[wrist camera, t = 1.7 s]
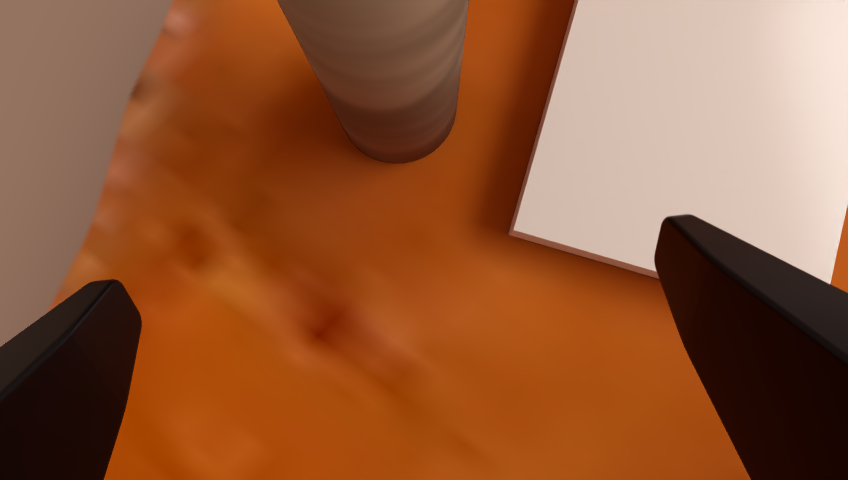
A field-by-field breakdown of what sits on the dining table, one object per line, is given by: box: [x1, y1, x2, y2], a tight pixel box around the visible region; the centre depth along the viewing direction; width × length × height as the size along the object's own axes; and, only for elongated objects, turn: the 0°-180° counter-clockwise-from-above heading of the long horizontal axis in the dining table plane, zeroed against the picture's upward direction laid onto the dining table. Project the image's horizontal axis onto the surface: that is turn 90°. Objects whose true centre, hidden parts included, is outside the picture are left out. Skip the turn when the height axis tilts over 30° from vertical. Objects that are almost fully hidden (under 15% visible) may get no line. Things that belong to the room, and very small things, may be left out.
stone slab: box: [508, 0, 848, 284], centre depth 22 cm, size 16×12×2 cm
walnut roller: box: [277, 0, 469, 163], centre depth 17 cm, size 5×5×13 cm
